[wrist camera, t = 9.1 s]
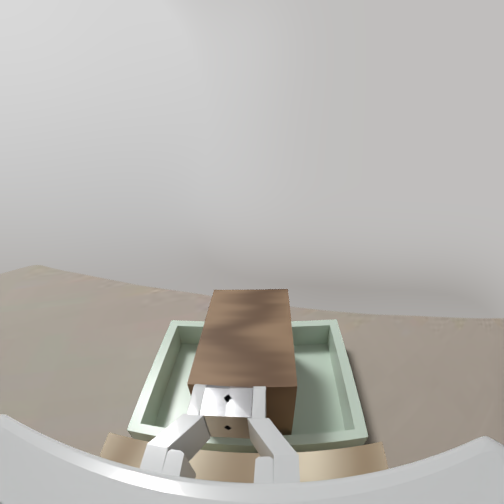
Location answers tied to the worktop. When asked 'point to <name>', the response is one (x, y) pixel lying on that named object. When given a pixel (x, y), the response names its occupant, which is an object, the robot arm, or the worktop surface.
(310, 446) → the tray
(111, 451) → the birch stand
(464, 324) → the worktop surface
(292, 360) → the walnut block
